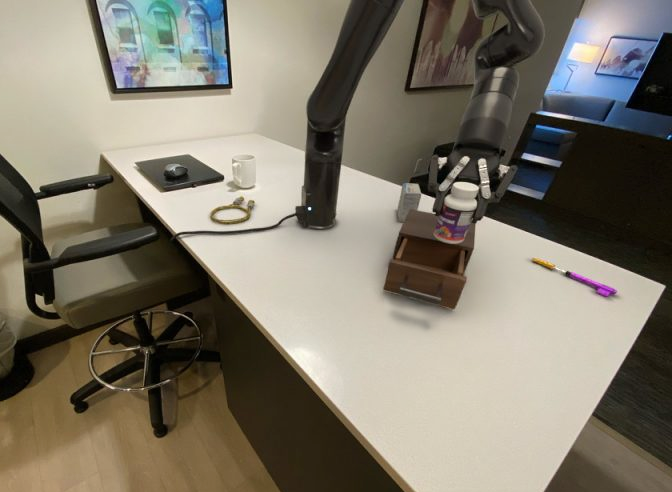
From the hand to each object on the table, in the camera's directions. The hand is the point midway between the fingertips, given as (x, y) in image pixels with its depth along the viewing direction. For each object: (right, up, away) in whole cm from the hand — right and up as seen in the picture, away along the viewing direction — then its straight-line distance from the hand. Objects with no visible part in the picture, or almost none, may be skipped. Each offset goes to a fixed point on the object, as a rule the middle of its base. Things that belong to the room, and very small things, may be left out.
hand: (455, 217), depth 57 cm
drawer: (-2, -12, +10) cm, 16 cm away
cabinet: (+4, -6, +20) cm, 21 cm away
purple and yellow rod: (+32, -10, +15) cm, 37 cm away
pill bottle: (+1, -3, +4) cm, 5 cm away
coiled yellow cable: (-45, +10, +40) cm, 61 cm away
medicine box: (+5, +8, +39) cm, 40 cm away
